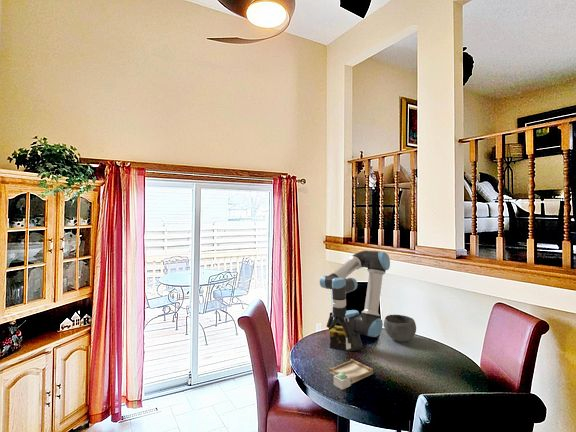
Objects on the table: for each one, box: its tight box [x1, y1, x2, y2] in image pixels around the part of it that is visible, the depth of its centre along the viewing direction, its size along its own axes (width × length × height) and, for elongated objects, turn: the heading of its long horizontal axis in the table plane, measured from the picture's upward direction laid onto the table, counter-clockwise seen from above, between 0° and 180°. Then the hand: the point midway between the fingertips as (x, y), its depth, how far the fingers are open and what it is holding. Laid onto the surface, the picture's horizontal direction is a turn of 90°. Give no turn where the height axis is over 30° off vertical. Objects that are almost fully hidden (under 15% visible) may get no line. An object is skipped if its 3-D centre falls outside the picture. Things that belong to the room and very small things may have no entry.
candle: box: [328, 325, 353, 352], centre depth 178 cm, size 10×10×10 cm
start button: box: [338, 373, 345, 380], centre depth 164 cm, size 4×4×4 cm
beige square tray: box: [328, 358, 374, 385], centre depth 176 cm, size 16×18×2 cm
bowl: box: [383, 314, 417, 343], centre depth 220 cm, size 21×21×15 cm
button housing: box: [333, 374, 351, 391], centre depth 164 cm, size 6×6×4 cm
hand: (340, 344), depth 178 cm, fingers closed on candle, 12 cm apart
